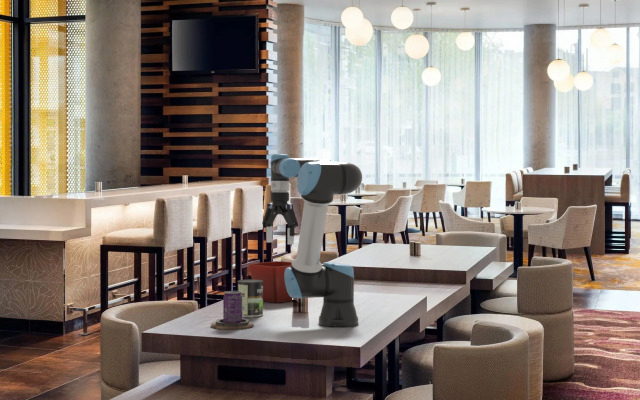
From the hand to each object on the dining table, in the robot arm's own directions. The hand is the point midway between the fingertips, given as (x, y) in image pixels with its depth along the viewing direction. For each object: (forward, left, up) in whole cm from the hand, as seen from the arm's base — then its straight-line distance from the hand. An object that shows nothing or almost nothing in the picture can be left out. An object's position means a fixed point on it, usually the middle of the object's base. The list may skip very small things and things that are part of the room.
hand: (279, 243), depth 343 cm
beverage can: (-12, +33, -28) cm, 45 cm away
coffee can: (+3, +13, -29) cm, 32 cm away
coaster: (-12, +33, -29) cm, 45 cm away
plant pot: (+27, -21, -29) cm, 45 cm away
